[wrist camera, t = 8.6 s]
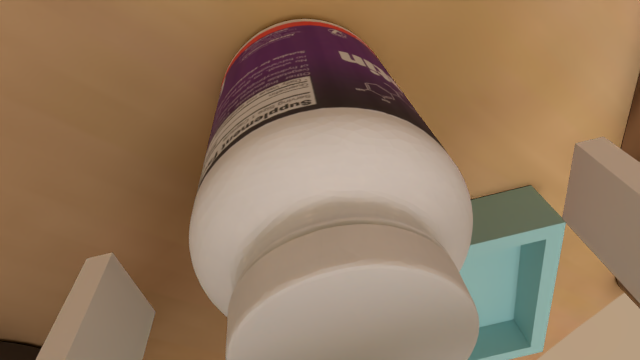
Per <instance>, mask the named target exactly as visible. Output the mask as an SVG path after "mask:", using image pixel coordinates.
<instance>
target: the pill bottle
mask: <svg viewBox="0 0 640 360" xmlns="http://www.w3.org/2000/svg"><path fill="white" fill-rule="evenodd" d="M472 229H473V212H472V204H471V200H470V195H469V192H468V189H467V186H466V183H465V181H464V178H463V176H462V175H461V173H460V171H459V169H458V167H457V166H456V165H455V163H454V162H453V160H452V159H451V158H450V156H449V155H448V153H447V152H446V150H445V149H444V148H443V146H442V145H441V144H440V142H439V141H438V140H437V138H436V137H435V136H434V135H433V133H432V132H431V130H430V129H429V128H428V126H427V125H426V124H425V122H424V121H423V120H422V118H421V117H420V116H419V114H418V113H417V112H416V110H415V109H414V107H413V106H412V105H411V103H410V102H409V101H408V99H407V98H406V96H405V95H404V93H403V92H402V91H401V90H400V88H399V87H398V85H397V84H396V83H395V82H394V80H393V79H392V78H391V76H390V75H389V73H388V72H387V71H386V69H385V68H384V66H383V65H382V64H381V62H380V61H379V59H378V58H377V57H376V55H375V54H374V53H373V51H372V50H371V49H370V48H369V47H368V46H367V45H366V44H365V43H364V42H363V41H362V40H361V39H360V38H359V37H358V36H356V35H355V34H354V33H352V32H350V31H349V30H347V29H345V28H343V27H341V26H339V25H336V24H333V23H330V22H326V21H322V20H316V19H295V20H289V21H284V22H281V23H278V24H275V25H272V26H270V27H268V28H266V29H264V30H262V31H260V32H259V33H257V34H256V35H255V36H253V37H252V38H251V39H250V40H249V41H247V42H246V43H245V44H244V45H243V46H242V47H241V48H240V50H239V51H238V52H237V53H236V55H235V56H234V58H233V59H232V61H231V62H230V64H229V66H228V68H227V71H226V73H225V76H224V79H223V82H222V85H221V90H220V95H219V100H218V104H217V109H216V113H215V117H214V122H213V126H212V130H211V134H210V138H209V142H208V147H207V152H206V156H205V160H204V165H203V169H202V173H201V177H200V182H199V186H198V190H197V194H196V197H195V201H194V206H193V211H192V215H191V220H190V227H189V249H190V255H191V260H192V265H193V268H194V271H195V274H196V276H197V278H198V280H199V282H200V284H201V287H202V288H203V290H204V291H205V293H206V295H207V296H208V298H209V299H210V300H211V301H212V303H213V304H214V305H215V306H216V307H217V308H218V309H219V310H220V311H221V312H222V313H223V314H224V315H225V316H226V317H227V337H226V357H225V358H226V360H468V358H469V357H470V355H471V353H472V351H473V349H474V347H475V345H476V342H477V338H478V335H479V316H478V312H477V309H476V306H475V303H474V301H473V299H472V297H471V295H470V293H469V291H468V289H467V287H466V285H465V283H464V281H463V279H462V277H461V275H460V273H459V272H460V270H461V268H462V266H463V264H464V261H465V259H466V256H467V254H468V250H469V247H470V243H471V236H472Z"/></svg>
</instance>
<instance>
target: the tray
mask: <svg viewBox="0 0 640 360" xmlns="http://www.w3.org/2000/svg"><path fill="white" fill-rule="evenodd" d="M471 204H472V212H473V229H472V236H471V243H470V247H469V250H468V254H467V256H466V259H465V261H464V264H463V266H462V268H461V270H460V272H459V273H460V275H461V277H462V279H463V281H464V283H465V285H466V287H467V289H468V291H469V293H470V295H471V297H472V299H473V301H474V303H475V306H476V309H477V312H478V316H479V335H478V338H477V342H476V345H475V347H474V349H473V351H472V353H471V355H470V357H469V358H468V360H509V359H513V358H517V357H521V356H526V355H530V354H534V353H538V352H543V347H544V342H545V336H546V331H547V325H548V319H549V314H550V308H551V303H552V297H553V292H554V286H555V280H556V275H557V269H558V264H559V258H560V253H561V247H562V242H563V236H564V230H565V225H566V222H565V221H564V220H563V219H562V217H561V216H560V215H559V214H558V213H557V212H556V211H555V210H554V209H553V208H552V207H551V206H550V205H549V204H548V203H547V202H546V201H545V200H544V198H543V197H542V196H541V195H540V194H539V193H538V192H537V191H536V190H535V189H534V188H533V187H532V186H531V185H530V186H526V187H522V188H518V189H514V190H510V191H506V192H502V193H498V194H494V195H489V196H485V197H481V198H477V199H473V200H471Z"/></svg>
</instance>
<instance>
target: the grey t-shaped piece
mask: <svg viewBox="0 0 640 360" xmlns="http://www.w3.org/2000/svg"><path fill="white" fill-rule="evenodd" d="M617 283H618V286H619V287H620V288H621V289H622V290H623V291H624V292H625V293H626V294H627V295H628V296H629V298H630V299H631V300H632V301H633V302H634V303H635V304H636V305H637V306H638V307H639V308H640V303H639V302H638V301H637V300H636V299H635V298H634V297H633V295H632V294H631V293H630V292H629V291H628V290H627V289H626V288H625V287H624V286H623V284H622V283H621V282H620V281H619V280H618V282H617Z"/></svg>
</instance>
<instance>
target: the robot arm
mask: <svg viewBox="0 0 640 360" xmlns="http://www.w3.org/2000/svg"><path fill="white" fill-rule="evenodd" d="M562 219H563V220H564V221H565V222H566V223H567V224H568V226H569V227H570V228H571V229H572V230H573V231H574V232H575V233H576V234H577V235H578V236H579V238H580V239H581V240H582V241H583V242H584V243H585V244H586V245H587V246H588V247H589V248H590V250H591V251H592V252H593V253H594V254H595V255H596V256H597V257H598V258H599V259H600V260H601V262H602V263H603V264H604V265H605V266H606V267H607V268H608V269H609V270H610V271H611V272H612V274H613V275H614V276H615V277H616V278H617V279H618V280H619V281H620V282H621V283H622V284H623V286H624V287H625V288H626V289H627V290H628V291H629V292H630V293H631V294H632V295H633V297H634V298H635V299H636V300H637V301H638V302H639V303H640V162H638V161H637V160H636V159H634V158H633V157H631V156H630V155H629V154H627V153H626V152H624V151H623V150H622V149H620V148H619V147H617V146H616V145H615V144H613V143H612V142H610V141H609V140H608V139H606V138H605V137H600V138H596V139H592V140H587V141H583V142H579V143H575V148H574V154H573V160H572V165H571V171H570V177H569V183H568V188H567V194H566V200H565V206H564V211H563V217H562ZM154 316H155V310H154V309H153V307H152V306H151V305H150V303H149V302H148V301H147V299H146V298H145V296H144V295H143V294H142V292H141V291H140V290H139V288H138V287H137V285H136V284H135V283H134V281H133V280H132V279H131V277H130V276H129V274H128V273H127V272H126V270H125V269H124V268H123V266H122V265H121V263H120V262H119V261H118V259H117V258H116V256H115V255H114V254H113V252H112V253H108V254H104V255H99V256H95V257H91V258H87V259H86V261H85V263H84V265H83V267H82V269H81V271H80V273H79V275H78V277H77V279H76V281H75V283H74V285H73V287H72V289H71V291H70V293H69V295H68V297H67V299H66V301H65V303H64V304H63V306H62V308H61V310H60V312H59V314H58V316H57V318H56V320H55V322H54V324H53V326H52V328H51V330H50V332H49V334H48V336H47V338H46V340H45V342H44V344H43V346H42V348H41V349H39V348H35V347H31V346H26V345H21V344H15V343H8V342H0V360H143V356H144V352H145V349H146V345H147V341H148V338H149V334H150V330H151V327H152V323H153V319H154Z"/></svg>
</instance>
